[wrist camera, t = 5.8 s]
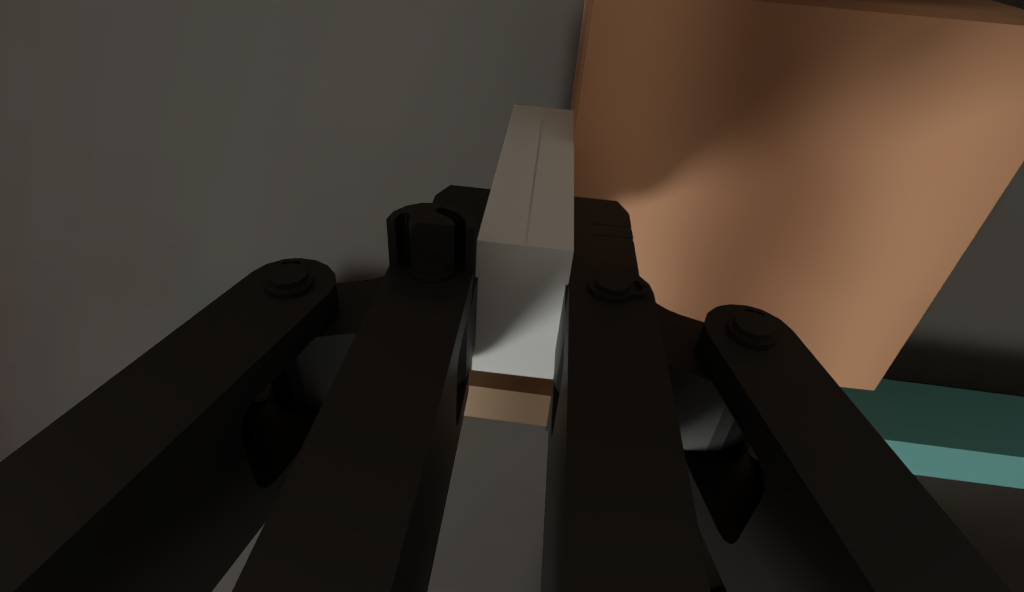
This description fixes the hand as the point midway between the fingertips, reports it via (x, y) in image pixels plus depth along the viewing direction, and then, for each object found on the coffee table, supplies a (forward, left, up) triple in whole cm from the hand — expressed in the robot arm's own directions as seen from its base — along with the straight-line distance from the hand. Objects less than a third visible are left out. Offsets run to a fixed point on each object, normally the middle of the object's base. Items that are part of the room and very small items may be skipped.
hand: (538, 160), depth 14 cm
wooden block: (-4, -3, -2) cm, 6 cm away
